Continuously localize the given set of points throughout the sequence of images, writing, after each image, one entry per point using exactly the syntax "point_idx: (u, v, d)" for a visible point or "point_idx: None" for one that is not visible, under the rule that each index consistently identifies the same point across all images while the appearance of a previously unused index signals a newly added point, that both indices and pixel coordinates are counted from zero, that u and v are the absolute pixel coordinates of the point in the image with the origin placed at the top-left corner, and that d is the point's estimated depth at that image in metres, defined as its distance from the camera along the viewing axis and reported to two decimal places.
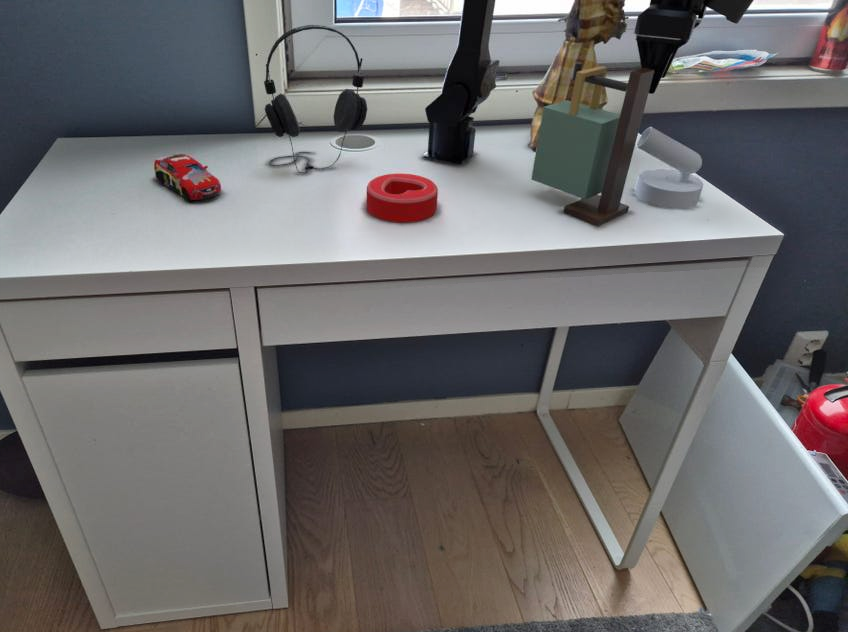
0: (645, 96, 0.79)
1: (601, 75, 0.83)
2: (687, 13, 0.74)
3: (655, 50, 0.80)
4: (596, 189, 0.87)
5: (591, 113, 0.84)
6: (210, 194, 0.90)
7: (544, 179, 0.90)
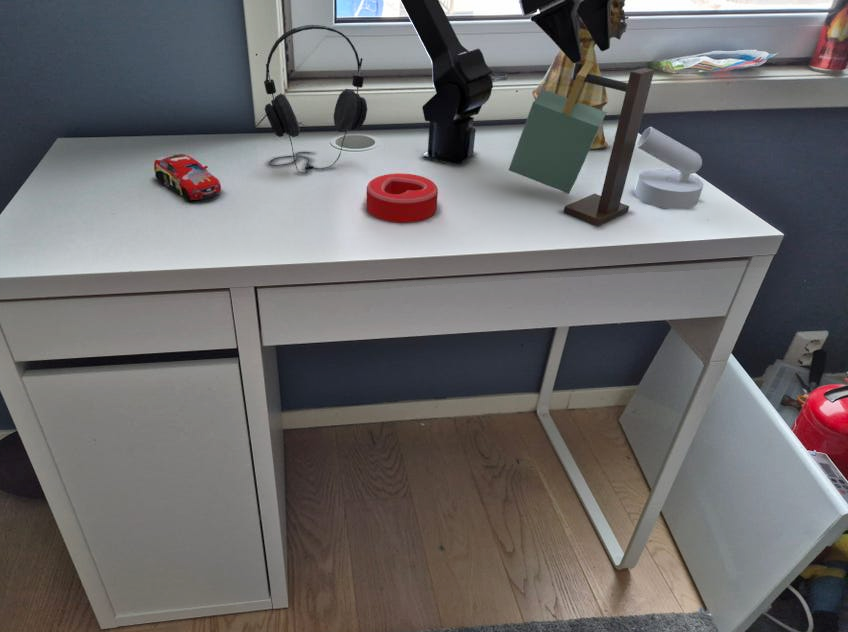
0: (645, 96, 0.79)
1: None
2: None
3: (558, 22, 0.80)
4: (574, 181, 0.91)
5: (578, 110, 0.85)
6: (210, 194, 0.90)
7: (525, 171, 0.91)
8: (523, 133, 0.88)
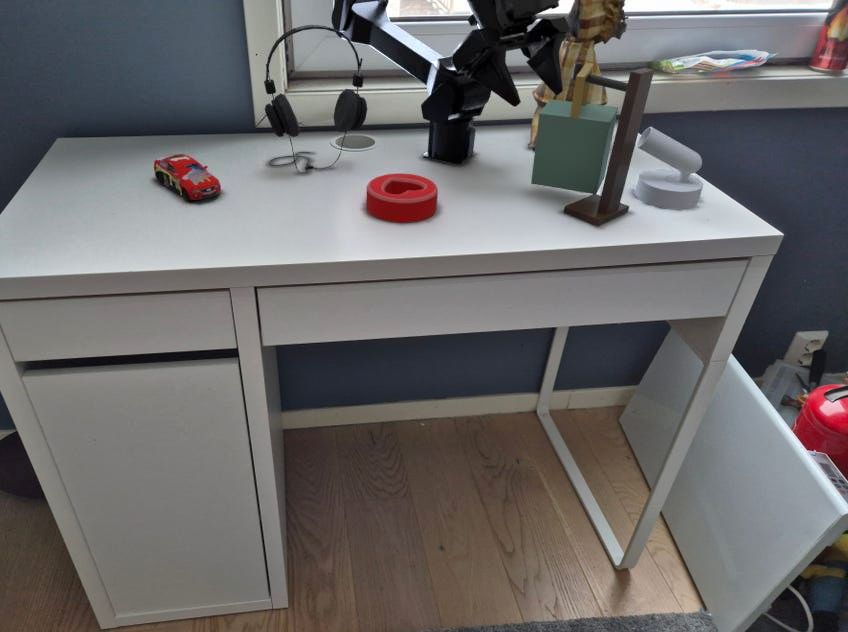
0: (645, 96, 0.79)
1: (589, 72, 0.84)
2: (472, 31, 0.83)
3: (491, 73, 0.87)
4: (600, 181, 0.89)
5: (587, 111, 0.85)
6: (210, 194, 0.90)
7: (547, 182, 0.91)
8: (537, 145, 0.88)
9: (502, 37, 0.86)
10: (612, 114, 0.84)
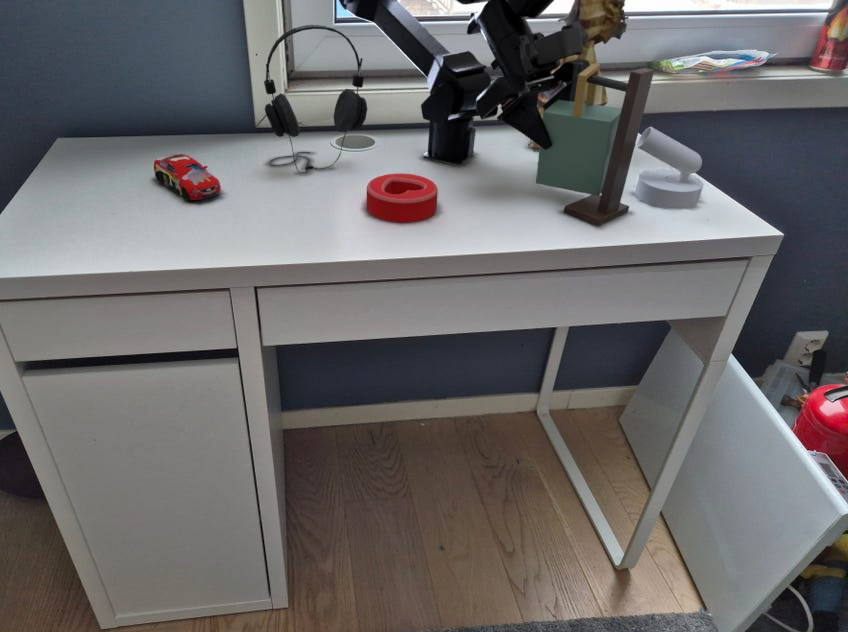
0: (645, 96, 0.79)
1: (595, 72, 0.84)
2: (497, 78, 0.83)
3: (523, 117, 0.87)
4: None
5: (592, 111, 0.85)
6: (210, 194, 0.90)
7: (551, 182, 0.90)
8: None
9: (534, 81, 0.86)
10: (616, 115, 0.83)
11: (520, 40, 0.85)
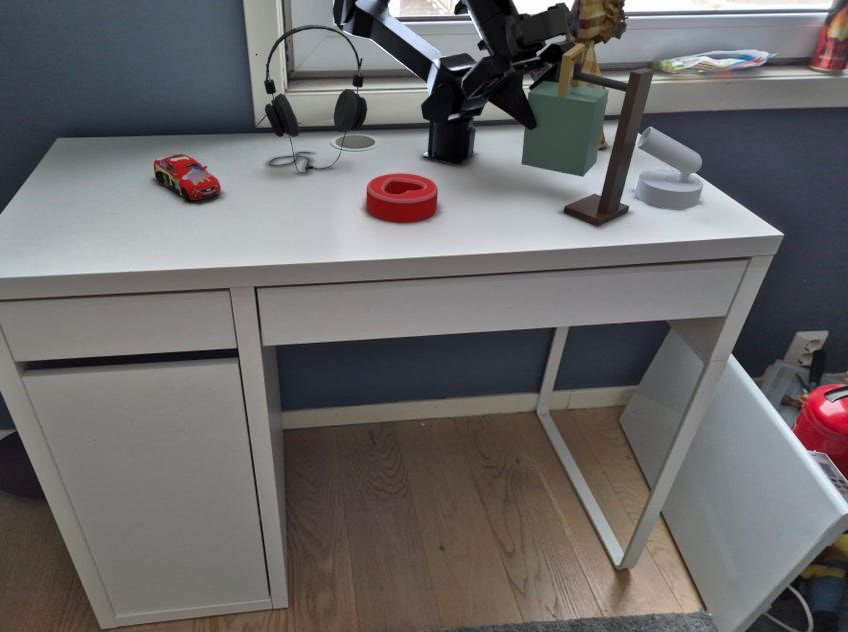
0: (645, 96, 0.79)
1: (580, 53, 0.84)
2: (482, 58, 0.83)
3: (508, 97, 0.88)
4: (589, 164, 0.89)
5: (576, 92, 0.85)
6: (210, 194, 0.90)
7: (536, 162, 0.91)
8: None
9: (519, 62, 0.87)
10: (600, 95, 0.84)
11: (506, 20, 0.86)
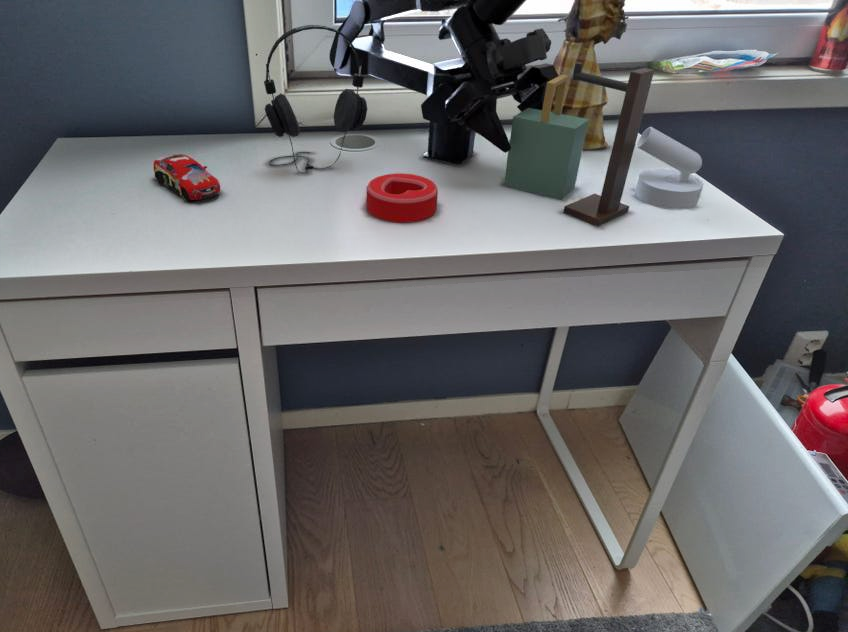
0: (645, 96, 0.79)
1: (563, 83, 0.89)
2: (464, 83, 0.87)
3: (483, 121, 0.91)
4: (568, 188, 0.94)
5: (558, 119, 0.90)
6: (209, 194, 0.90)
7: (518, 184, 0.95)
8: None
9: (493, 87, 0.90)
10: (580, 123, 0.88)
11: (487, 46, 0.90)
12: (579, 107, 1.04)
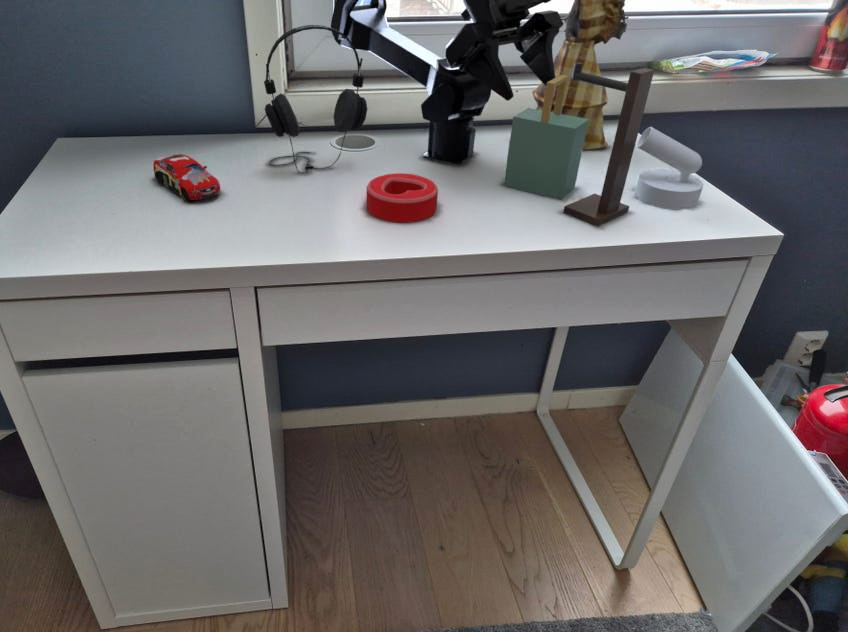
0: (645, 96, 0.79)
1: (563, 83, 0.89)
2: (465, 25, 0.83)
3: (484, 67, 0.87)
4: (568, 188, 0.94)
5: (558, 119, 0.90)
6: (209, 194, 0.90)
7: (518, 184, 0.95)
8: (510, 147, 0.93)
9: (495, 31, 0.86)
10: (580, 123, 0.88)
11: None
12: (579, 107, 1.04)
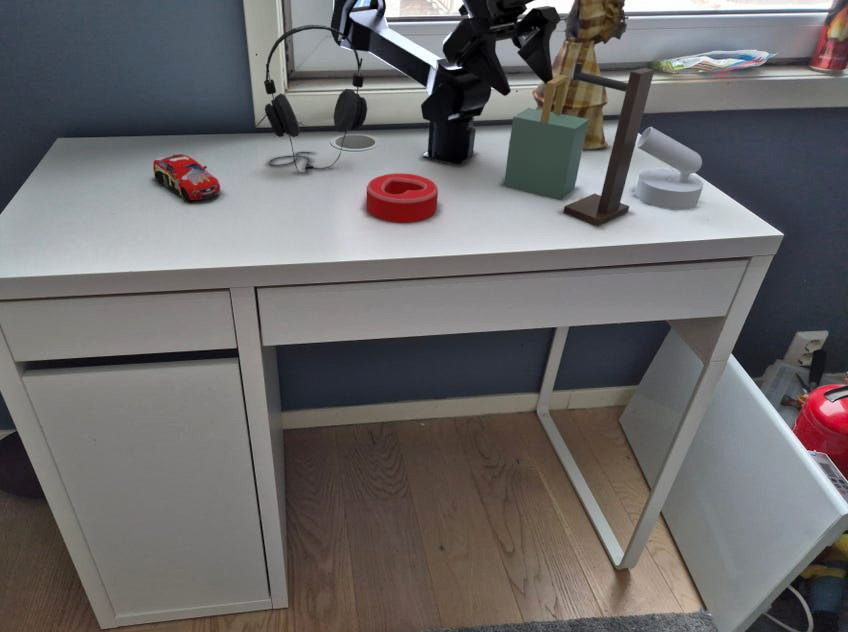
0: (645, 96, 0.79)
1: (563, 83, 0.89)
2: (462, 20, 0.83)
3: (482, 62, 0.87)
4: (568, 188, 0.94)
5: (558, 119, 0.90)
6: (209, 194, 0.90)
7: (518, 184, 0.95)
8: (510, 147, 0.93)
9: (492, 26, 0.86)
10: (580, 123, 0.88)
11: None
12: (579, 107, 1.04)
